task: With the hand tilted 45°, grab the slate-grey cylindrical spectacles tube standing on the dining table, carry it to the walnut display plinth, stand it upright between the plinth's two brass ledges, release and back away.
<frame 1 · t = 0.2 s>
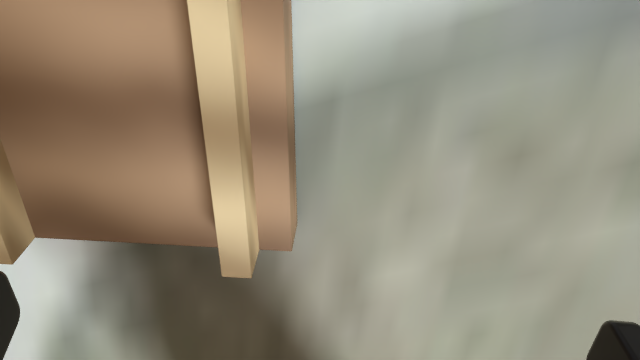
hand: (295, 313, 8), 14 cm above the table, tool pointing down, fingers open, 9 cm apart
display plinth: (123, 96, 22), on the table
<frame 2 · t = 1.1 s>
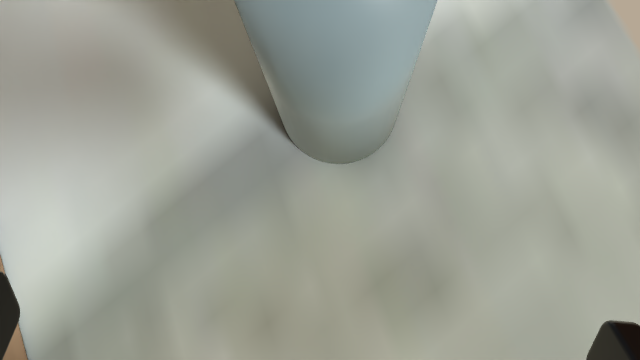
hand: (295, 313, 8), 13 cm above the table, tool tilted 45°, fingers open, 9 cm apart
spectacles tube: (338, 107, 23), on the table
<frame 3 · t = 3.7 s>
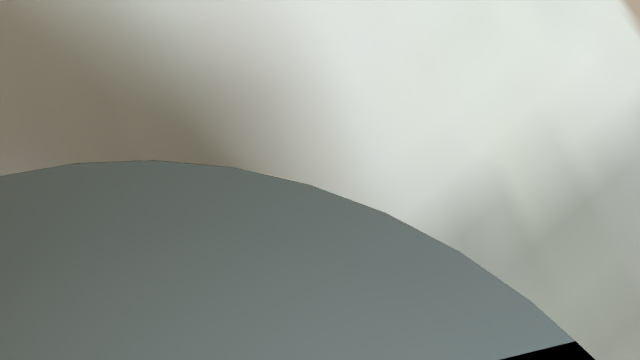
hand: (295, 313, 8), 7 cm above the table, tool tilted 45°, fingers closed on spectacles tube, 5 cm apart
spectacles tube: (312, 350, 15), on the table, touching gripper
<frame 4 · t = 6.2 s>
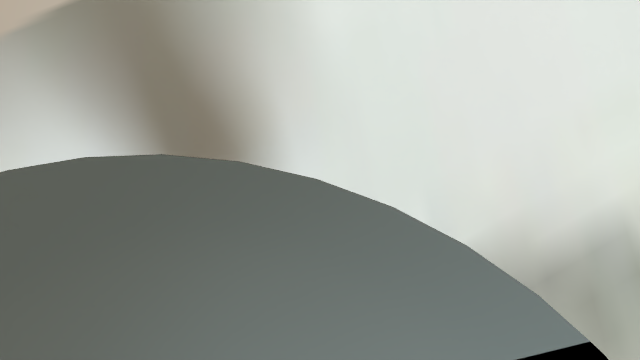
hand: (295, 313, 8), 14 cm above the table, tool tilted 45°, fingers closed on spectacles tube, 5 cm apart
spectacles tube: (313, 349, 15), point 7 cm above the table, touching gripper
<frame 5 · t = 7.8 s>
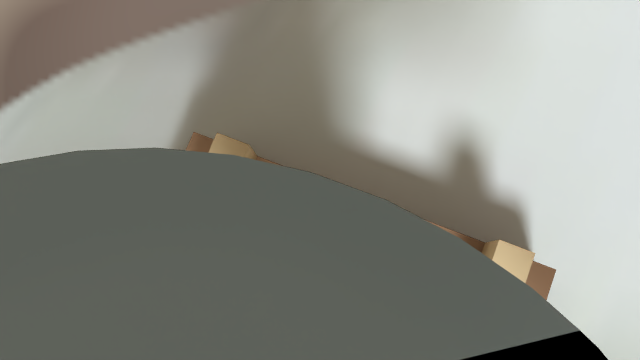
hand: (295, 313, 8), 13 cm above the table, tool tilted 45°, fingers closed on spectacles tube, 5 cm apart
display plinth: (311, 350, 21), on the table
spectacles tube: (312, 348, 15), point 7 cm above the table, touching gripper
when the fingers open (10 cm above the table, at t = 8.9 s): spectacles tube stays where it is, resting on display plinth.
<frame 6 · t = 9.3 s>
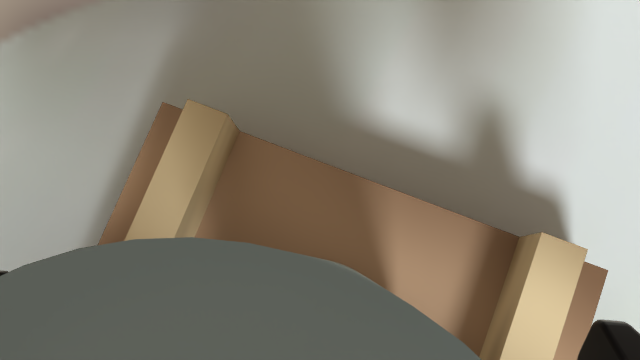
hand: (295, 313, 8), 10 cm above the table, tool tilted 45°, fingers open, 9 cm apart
spectacles tube: (313, 344, 15), point 2 cm above the table, touching display plinth
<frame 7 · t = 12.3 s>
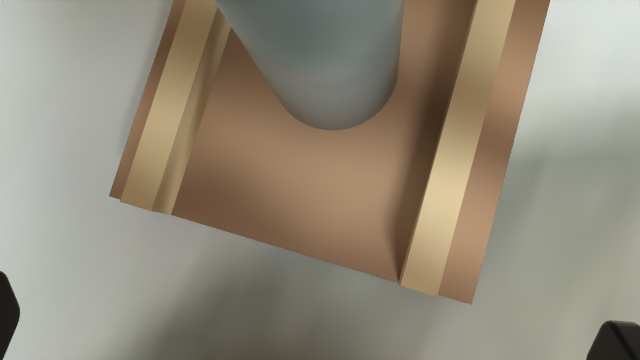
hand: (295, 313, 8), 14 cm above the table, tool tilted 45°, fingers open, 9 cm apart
display plinth: (331, 107, 23), on the table
spectacles tube: (334, 68, 21), point 2 cm above the table, touching display plinth
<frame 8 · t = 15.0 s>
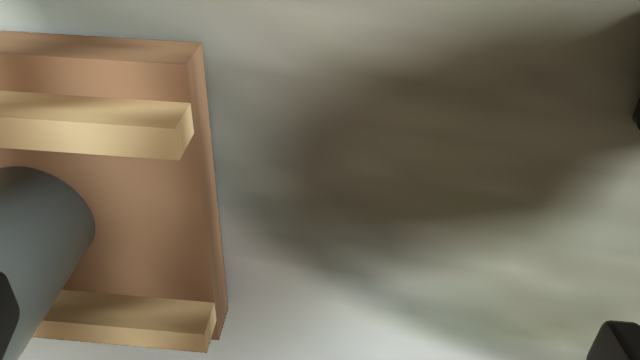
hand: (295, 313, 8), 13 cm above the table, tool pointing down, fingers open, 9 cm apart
display plinth: (82, 187, 24), on the table
spectacles tube: (37, 214, 23), point 2 cm above the table, touching display plinth
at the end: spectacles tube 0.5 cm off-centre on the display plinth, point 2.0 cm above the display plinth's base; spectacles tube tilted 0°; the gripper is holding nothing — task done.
